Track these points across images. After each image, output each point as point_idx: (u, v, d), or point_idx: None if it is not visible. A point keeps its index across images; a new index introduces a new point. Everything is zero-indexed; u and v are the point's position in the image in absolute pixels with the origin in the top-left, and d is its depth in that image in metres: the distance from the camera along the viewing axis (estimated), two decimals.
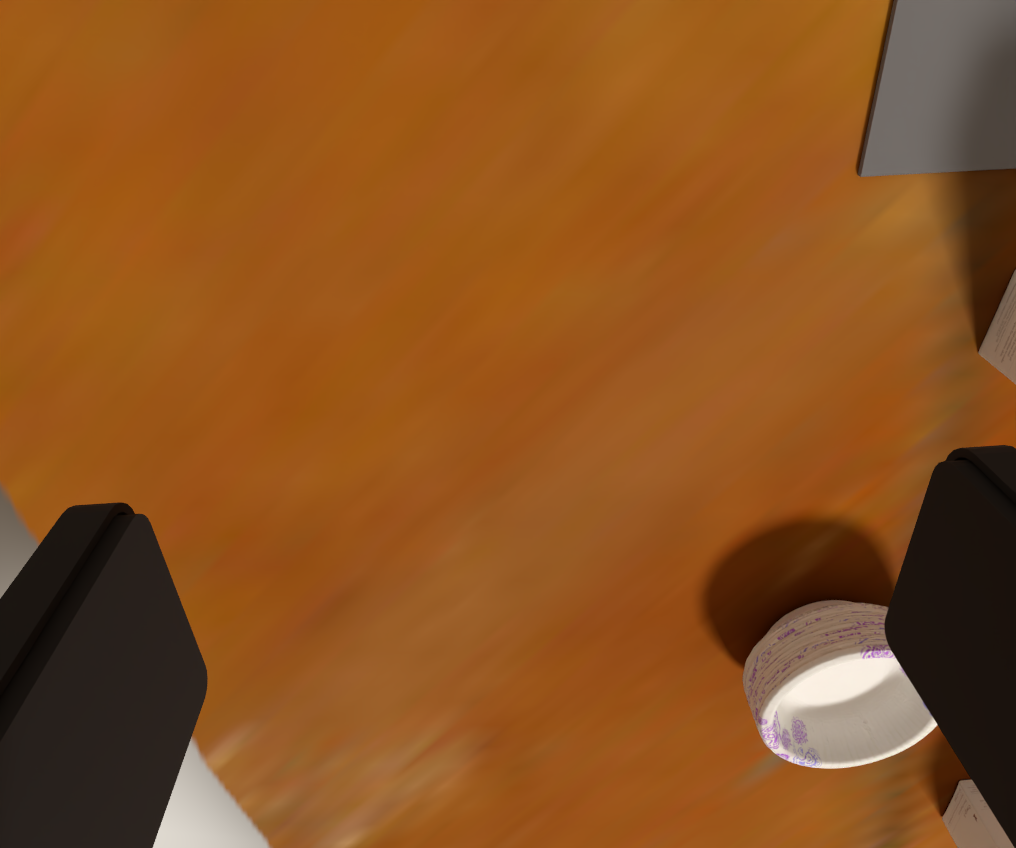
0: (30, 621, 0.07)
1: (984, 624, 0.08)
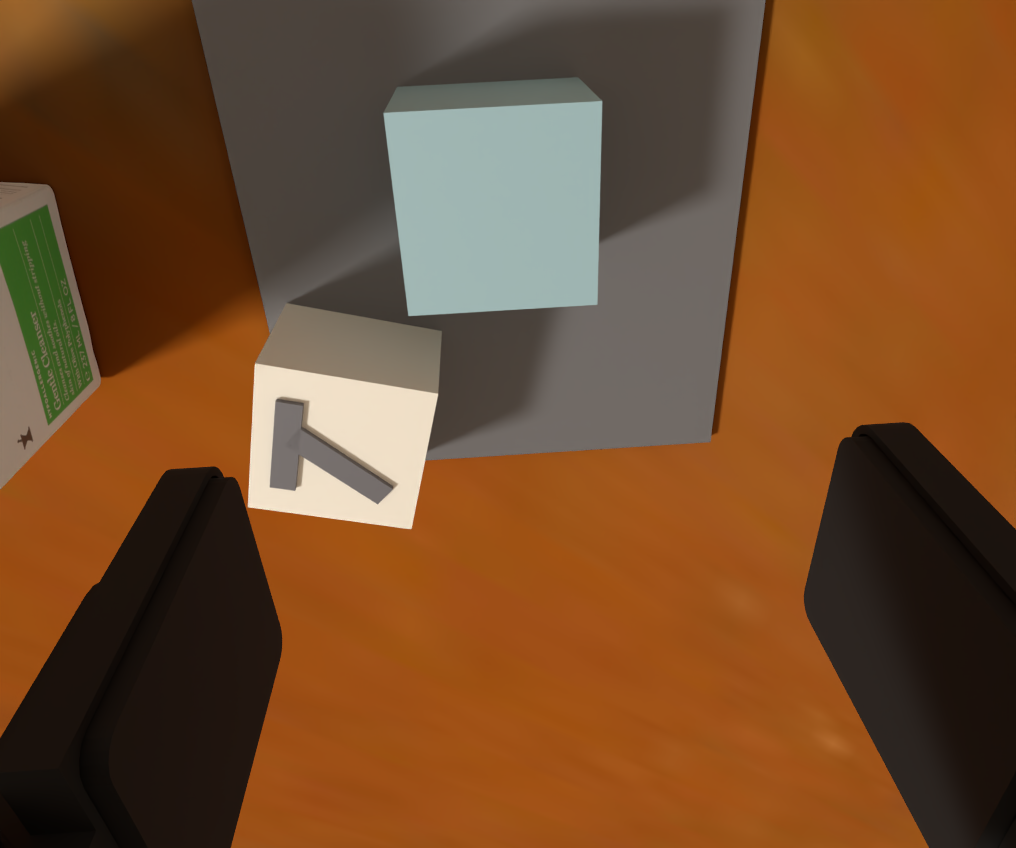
0: (150, 569, 0.07)
1: (878, 589, 0.08)
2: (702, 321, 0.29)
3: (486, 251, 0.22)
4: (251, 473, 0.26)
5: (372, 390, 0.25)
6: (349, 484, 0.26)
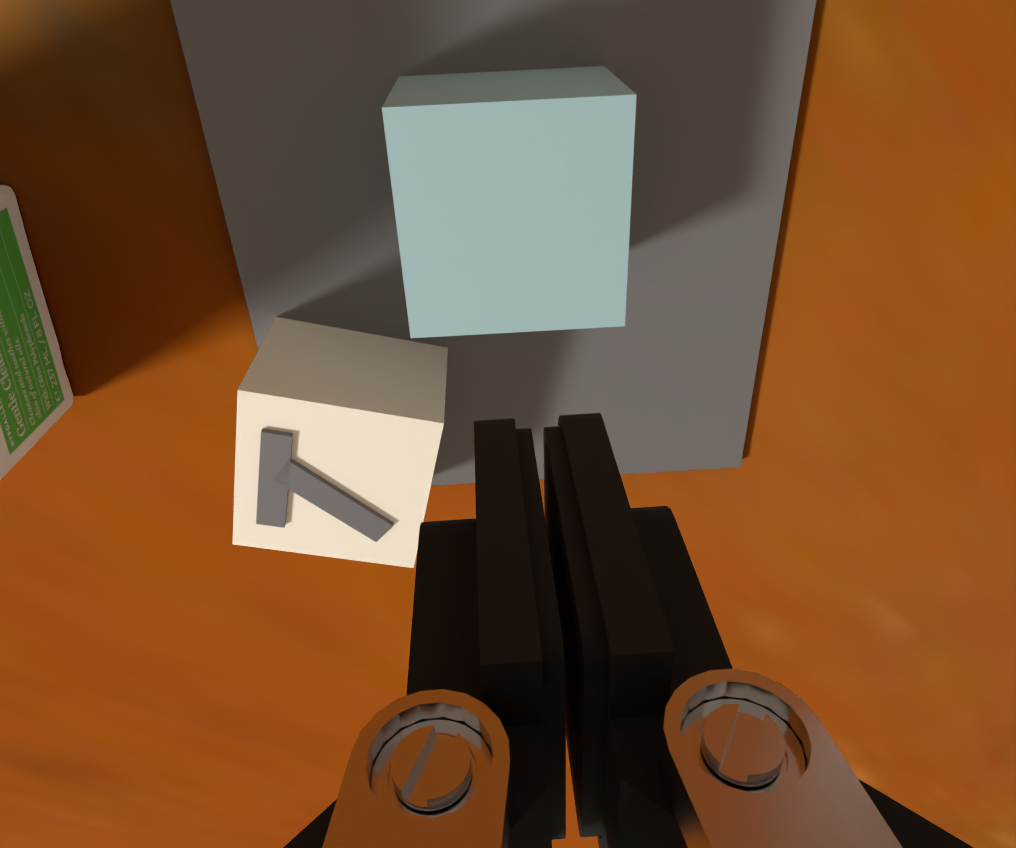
0: (514, 502, 0.08)
1: (556, 570, 0.09)
2: (736, 338, 0.27)
3: (499, 266, 0.20)
4: (235, 508, 0.23)
5: (370, 419, 0.22)
6: (344, 521, 0.24)
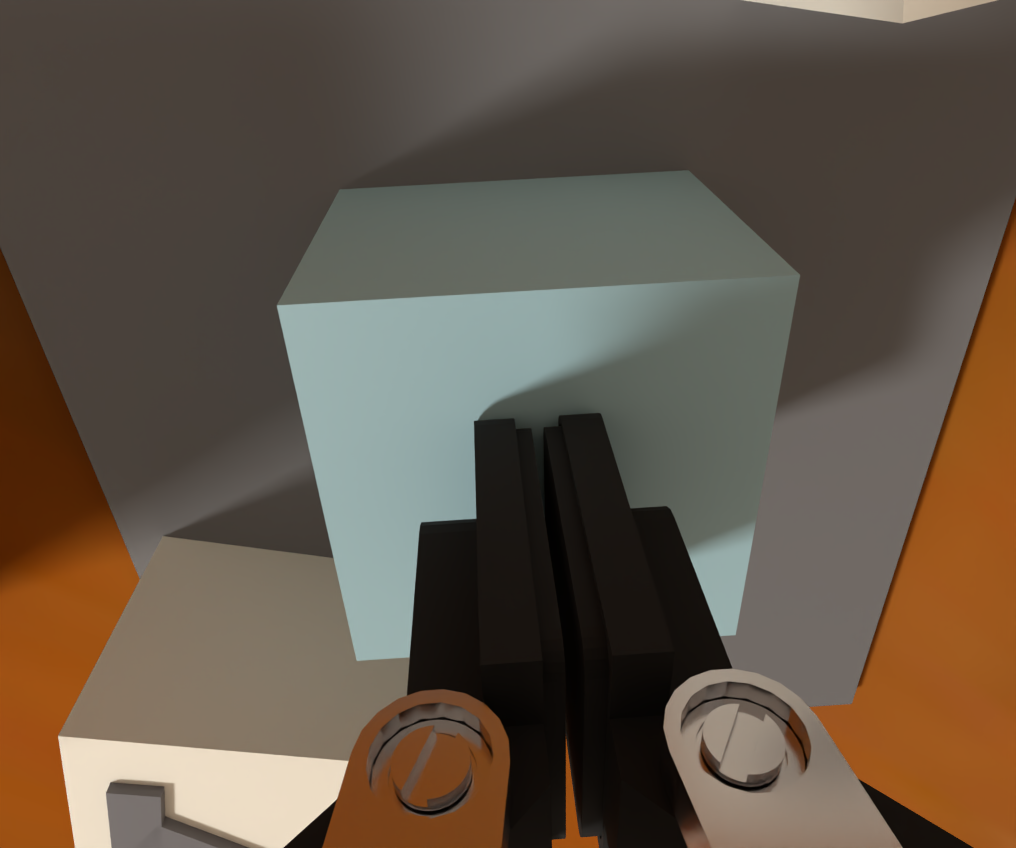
0: (514, 502, 0.08)
1: (556, 570, 0.09)
2: (864, 550, 0.18)
3: None
4: None
5: (294, 766, 0.13)
6: None
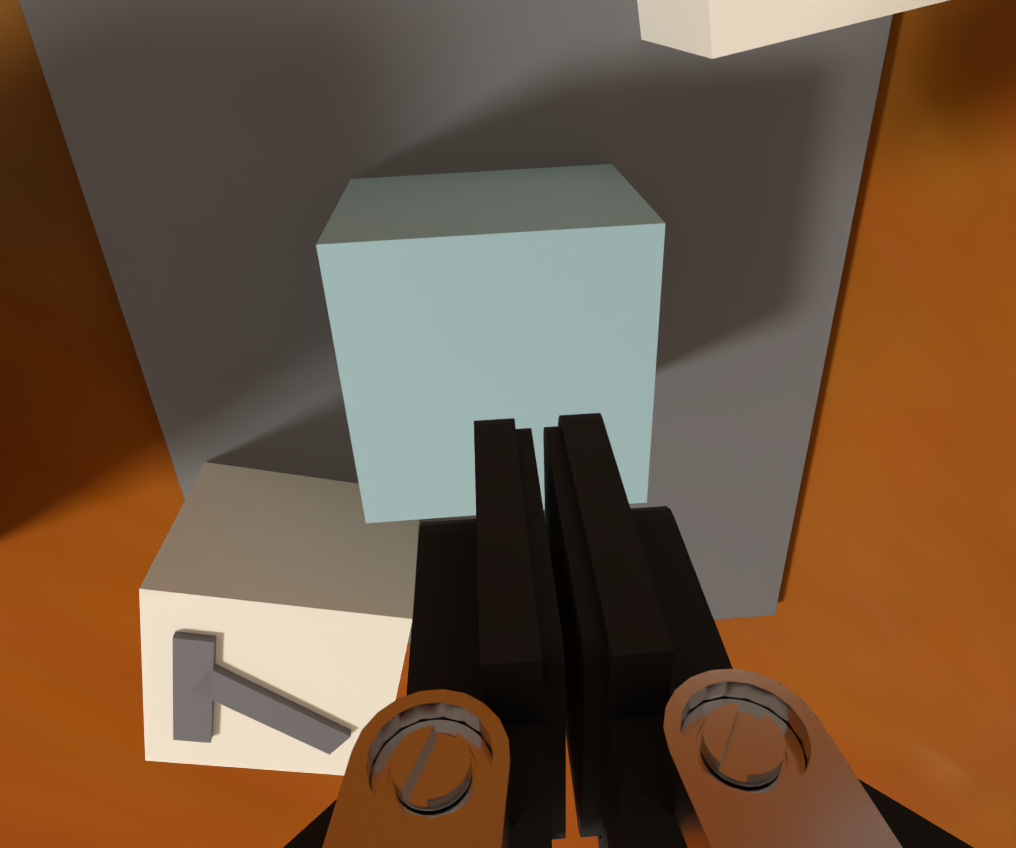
0: (514, 502, 0.08)
1: (557, 570, 0.09)
2: (772, 474, 0.22)
3: None
4: (146, 721, 0.18)
5: (316, 617, 0.17)
6: (288, 732, 0.19)
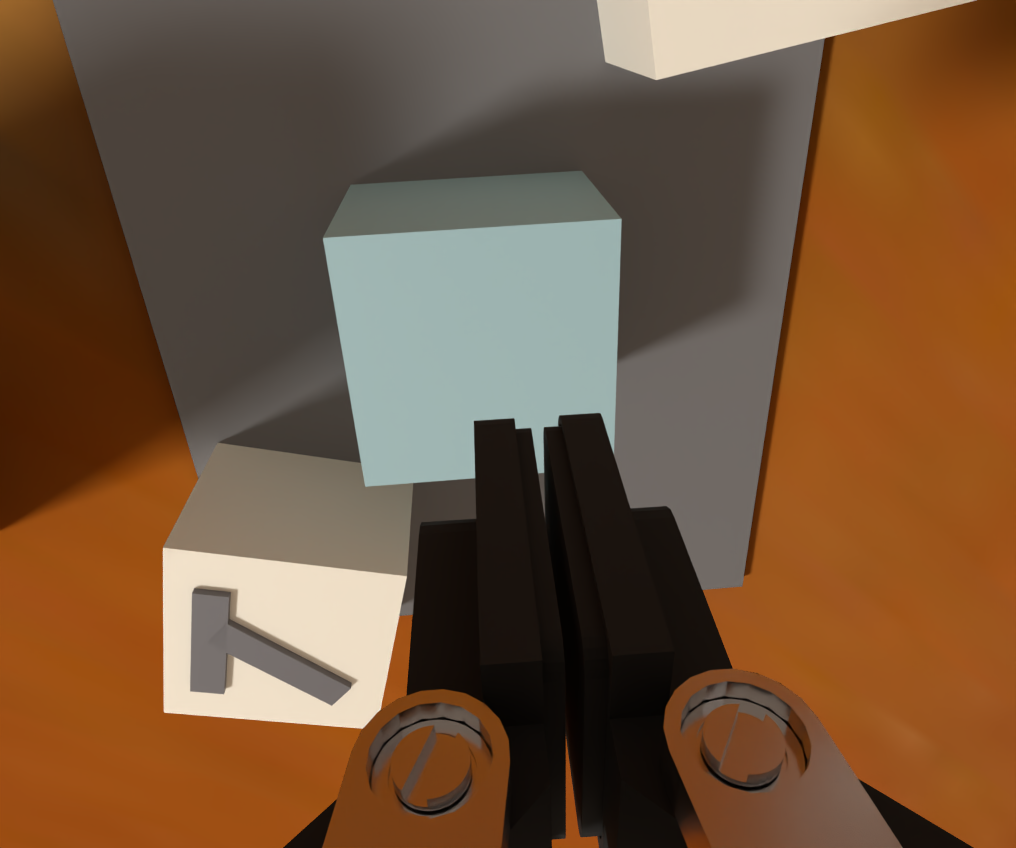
0: (514, 502, 0.08)
1: (556, 570, 0.09)
2: (734, 452, 0.24)
3: (466, 407, 0.17)
4: (166, 674, 0.20)
5: (320, 575, 0.19)
6: (294, 684, 0.20)
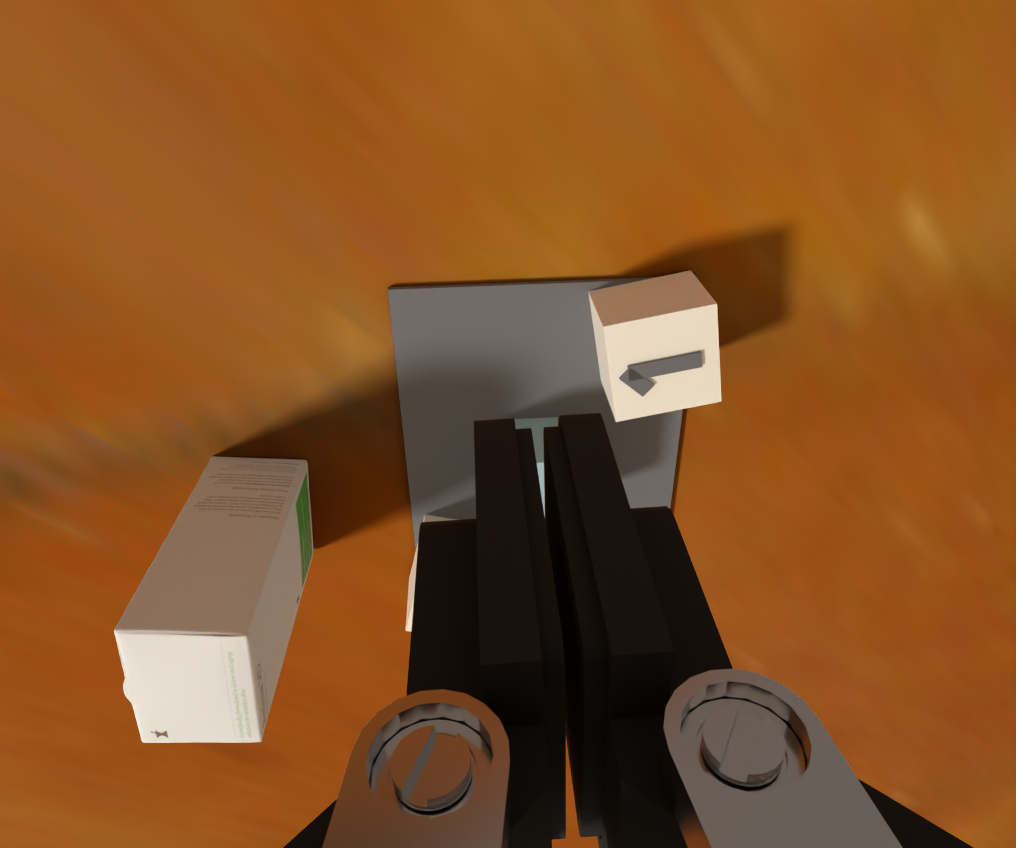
0: (514, 502, 0.08)
1: (556, 570, 0.09)
2: None
3: None
4: (410, 614, 0.48)
5: None
6: None
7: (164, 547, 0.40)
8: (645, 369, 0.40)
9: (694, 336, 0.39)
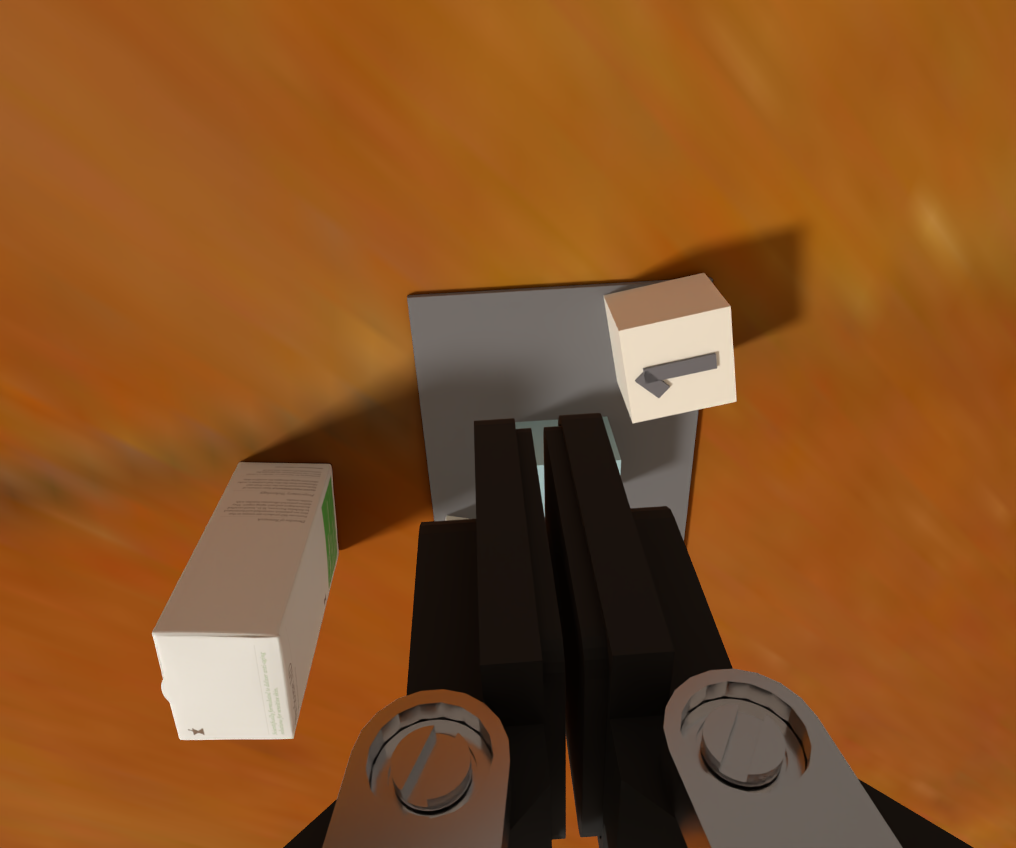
0: (514, 502, 0.08)
1: (556, 570, 0.09)
2: None
3: None
4: None
5: None
6: None
7: (197, 551, 0.41)
8: (660, 371, 0.41)
9: (708, 339, 0.40)
